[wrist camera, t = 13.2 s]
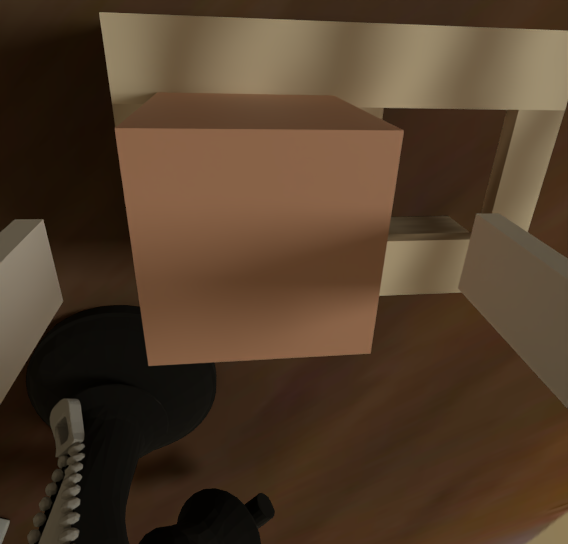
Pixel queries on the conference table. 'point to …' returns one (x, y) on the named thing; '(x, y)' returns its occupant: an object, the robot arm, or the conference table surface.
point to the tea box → (3, 528)
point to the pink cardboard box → (257, 223)
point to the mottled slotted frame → (368, 98)
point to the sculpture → (122, 433)
